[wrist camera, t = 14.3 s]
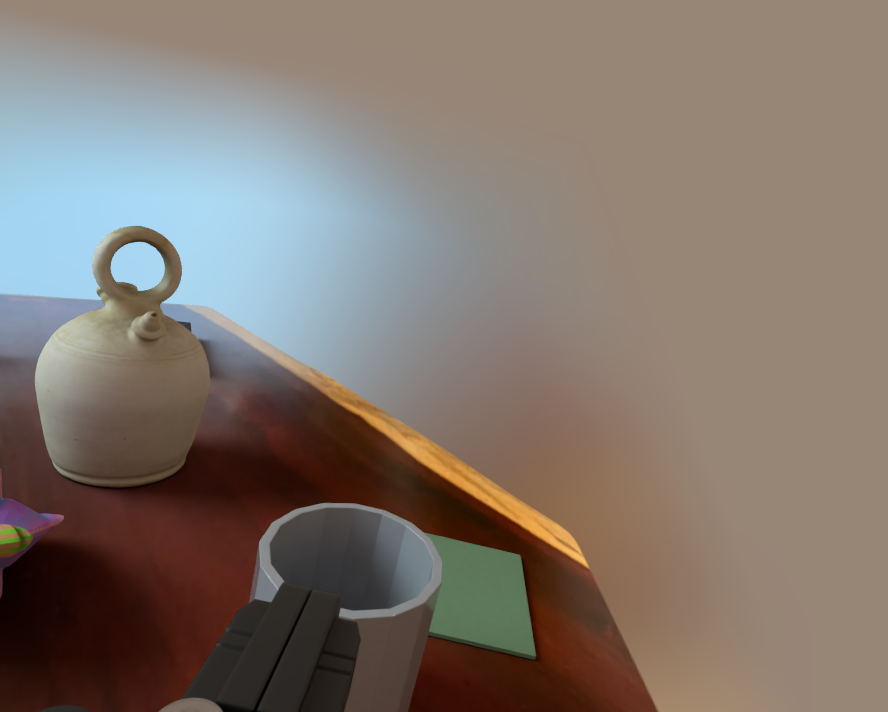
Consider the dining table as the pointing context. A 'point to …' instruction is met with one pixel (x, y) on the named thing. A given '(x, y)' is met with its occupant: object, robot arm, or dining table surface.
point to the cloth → (482, 599)
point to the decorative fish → (20, 530)
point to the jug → (123, 379)
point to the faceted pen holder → (361, 588)
